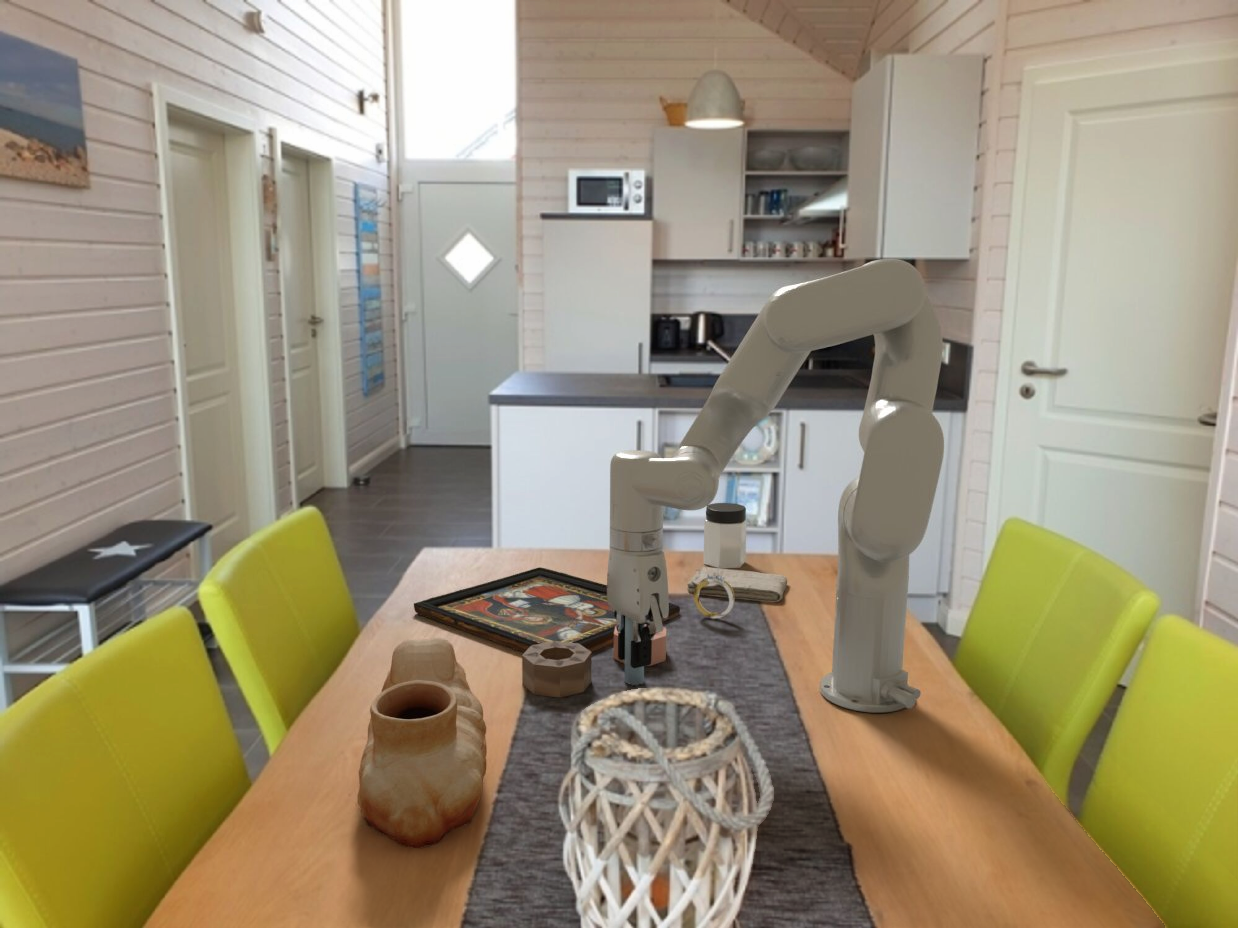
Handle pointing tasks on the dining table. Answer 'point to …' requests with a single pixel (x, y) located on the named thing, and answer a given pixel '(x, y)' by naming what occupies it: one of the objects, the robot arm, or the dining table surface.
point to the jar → (725, 535)
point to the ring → (714, 579)
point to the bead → (556, 669)
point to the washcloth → (741, 584)
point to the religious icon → (531, 610)
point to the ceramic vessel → (423, 747)
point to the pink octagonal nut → (657, 647)
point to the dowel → (631, 674)
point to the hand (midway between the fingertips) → (634, 660)
